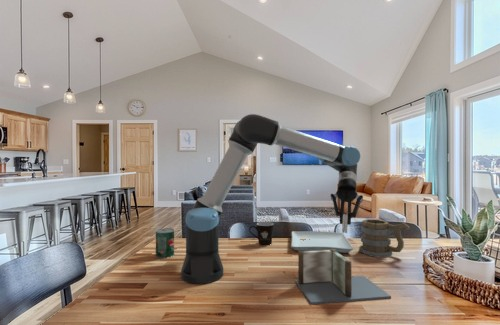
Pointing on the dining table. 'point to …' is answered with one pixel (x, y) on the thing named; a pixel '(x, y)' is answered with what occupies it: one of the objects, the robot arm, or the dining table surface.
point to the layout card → (332, 293)
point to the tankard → (380, 238)
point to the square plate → (320, 241)
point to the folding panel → (342, 273)
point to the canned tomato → (164, 243)
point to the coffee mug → (264, 232)
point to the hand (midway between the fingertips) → (344, 230)
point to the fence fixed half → (315, 266)
